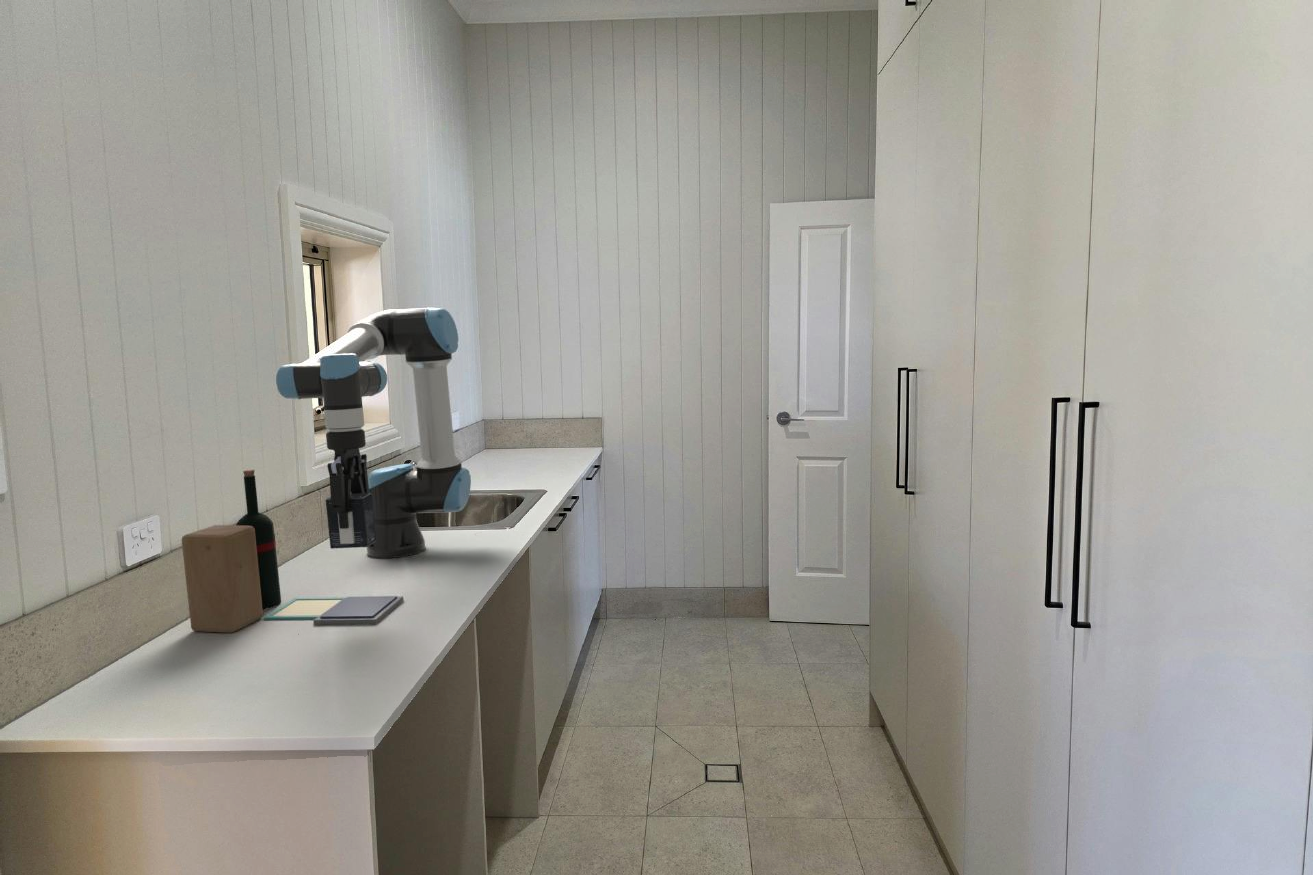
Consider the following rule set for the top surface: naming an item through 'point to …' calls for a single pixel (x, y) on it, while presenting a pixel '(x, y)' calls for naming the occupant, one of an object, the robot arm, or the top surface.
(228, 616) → the wooden block
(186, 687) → the top surface
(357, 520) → the box
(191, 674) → the top surface
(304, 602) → the print frame
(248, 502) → the wine bottle
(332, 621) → the ink pad
